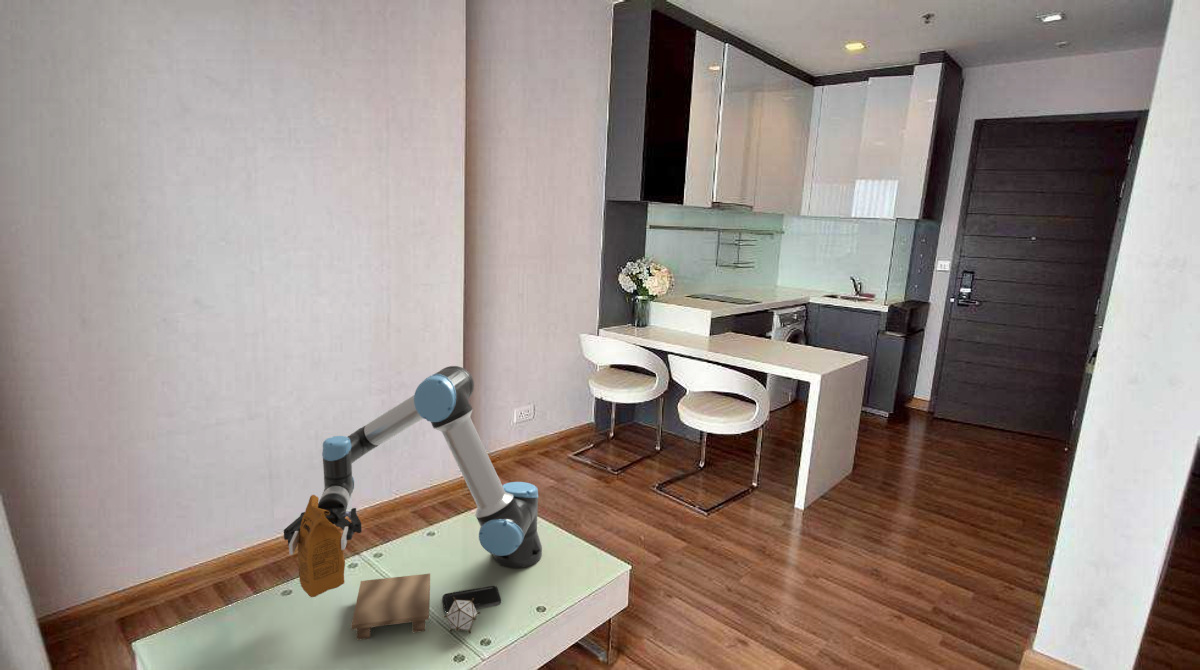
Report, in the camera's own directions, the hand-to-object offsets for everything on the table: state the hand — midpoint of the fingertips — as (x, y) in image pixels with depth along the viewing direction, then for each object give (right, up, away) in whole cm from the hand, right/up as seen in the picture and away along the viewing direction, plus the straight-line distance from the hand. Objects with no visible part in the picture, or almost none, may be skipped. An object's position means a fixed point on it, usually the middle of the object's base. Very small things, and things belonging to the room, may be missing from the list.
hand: (317, 547), depth 142 cm
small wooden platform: (+15, -21, +11) cm, 28 cm away
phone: (+34, -22, +18) cm, 44 cm away
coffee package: (-2, -11, +6) cm, 13 cm away
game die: (+34, -23, +7) cm, 42 cm away
